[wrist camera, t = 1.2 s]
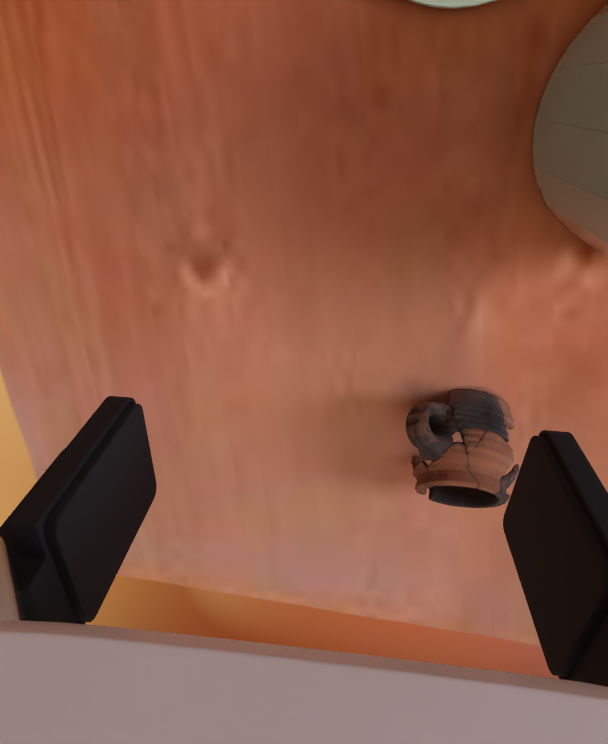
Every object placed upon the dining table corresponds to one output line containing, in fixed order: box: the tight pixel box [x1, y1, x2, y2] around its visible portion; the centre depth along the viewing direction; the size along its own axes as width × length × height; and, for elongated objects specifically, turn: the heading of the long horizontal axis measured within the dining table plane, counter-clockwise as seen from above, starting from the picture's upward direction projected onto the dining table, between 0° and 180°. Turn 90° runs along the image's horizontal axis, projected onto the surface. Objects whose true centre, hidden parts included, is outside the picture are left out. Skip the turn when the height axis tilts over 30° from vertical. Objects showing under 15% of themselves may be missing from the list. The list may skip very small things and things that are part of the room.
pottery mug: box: [406, 390, 519, 508], centre depth 41 cm, size 12×10×8 cm
